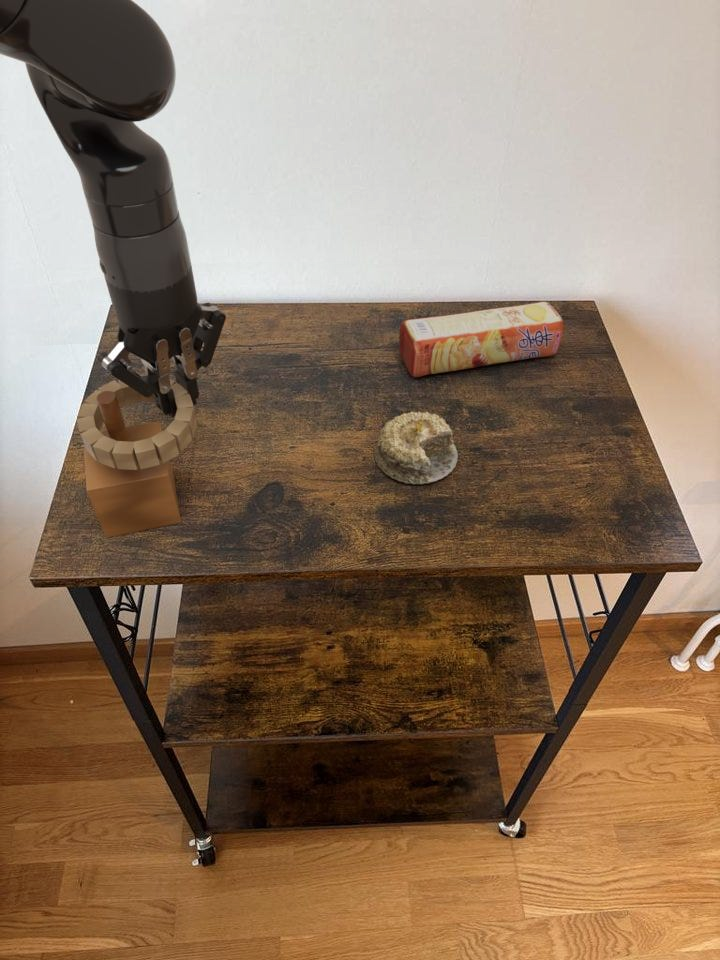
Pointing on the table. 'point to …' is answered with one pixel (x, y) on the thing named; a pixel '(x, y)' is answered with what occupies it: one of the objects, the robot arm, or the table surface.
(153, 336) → the robot arm
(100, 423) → the ring
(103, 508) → the post
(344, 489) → the table surface
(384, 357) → the table surface
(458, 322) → the snack package
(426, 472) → the cake
